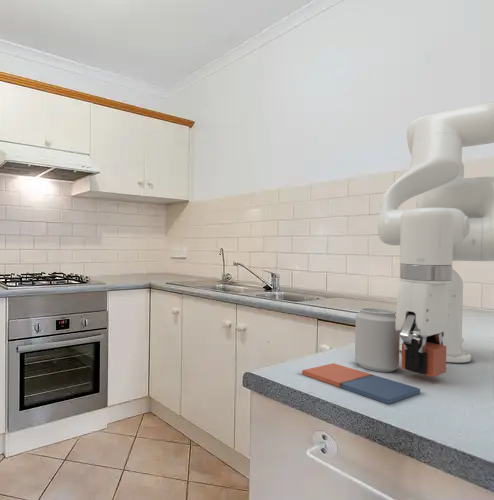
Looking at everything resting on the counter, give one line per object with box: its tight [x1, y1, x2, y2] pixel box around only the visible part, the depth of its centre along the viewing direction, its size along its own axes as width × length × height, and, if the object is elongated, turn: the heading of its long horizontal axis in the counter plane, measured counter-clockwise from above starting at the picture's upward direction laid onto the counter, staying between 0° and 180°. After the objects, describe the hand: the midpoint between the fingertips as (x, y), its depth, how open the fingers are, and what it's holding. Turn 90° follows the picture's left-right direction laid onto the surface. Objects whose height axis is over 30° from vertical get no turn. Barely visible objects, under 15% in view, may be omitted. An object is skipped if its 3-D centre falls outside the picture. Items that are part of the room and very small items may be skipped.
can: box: [354, 307, 401, 373], centre depth 75 cm, size 8×8×12 cm
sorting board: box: [301, 362, 421, 405], centre depth 66 cm, size 10×15×1 cm, turn 28°
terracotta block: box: [401, 340, 447, 378], centre depth 69 cm, size 5×5×5 cm
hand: (423, 368), depth 69 cm, fingers closed on terracotta block, 5 cm apart
